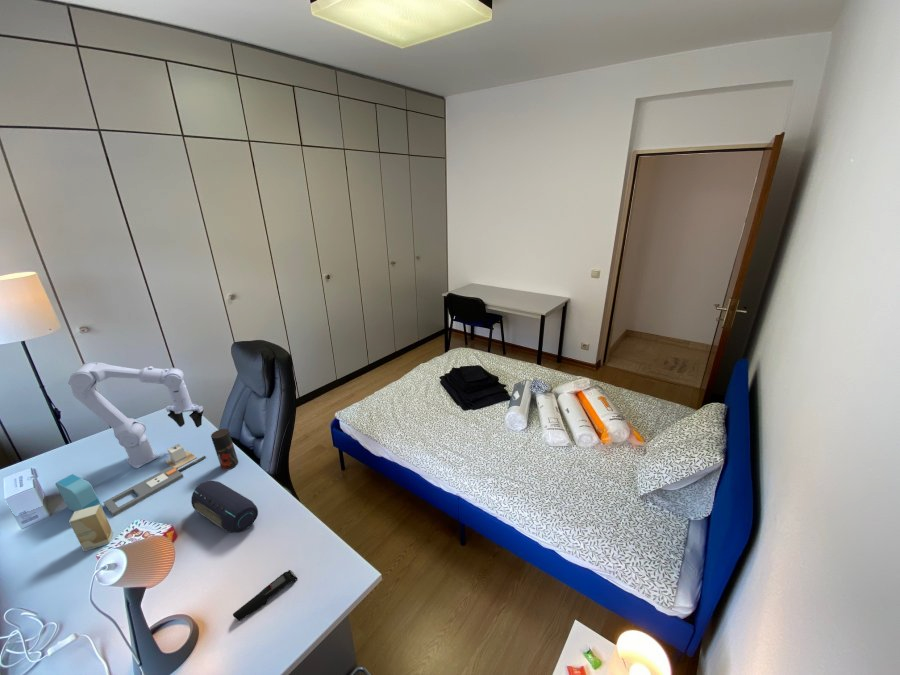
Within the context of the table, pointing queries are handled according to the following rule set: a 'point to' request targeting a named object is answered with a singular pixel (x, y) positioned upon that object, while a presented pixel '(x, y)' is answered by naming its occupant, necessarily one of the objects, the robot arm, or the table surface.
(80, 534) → the skincare box
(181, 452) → the charger plug
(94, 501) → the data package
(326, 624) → the table surface
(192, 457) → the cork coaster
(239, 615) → the electric trimmer
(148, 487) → the power strip
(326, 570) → the table surface
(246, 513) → the portable speaker
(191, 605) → the table surface
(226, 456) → the deodorant
